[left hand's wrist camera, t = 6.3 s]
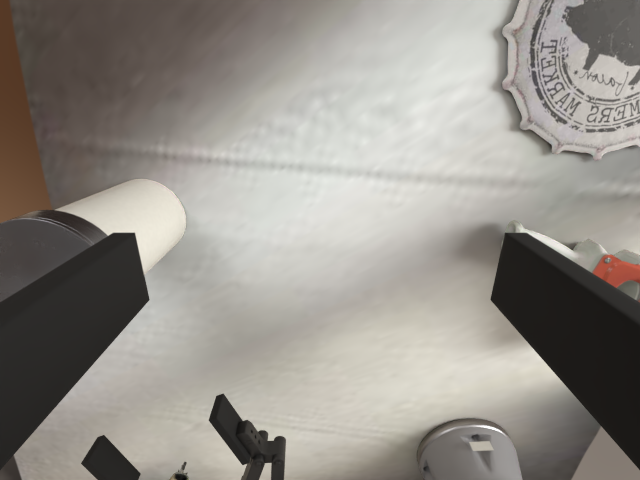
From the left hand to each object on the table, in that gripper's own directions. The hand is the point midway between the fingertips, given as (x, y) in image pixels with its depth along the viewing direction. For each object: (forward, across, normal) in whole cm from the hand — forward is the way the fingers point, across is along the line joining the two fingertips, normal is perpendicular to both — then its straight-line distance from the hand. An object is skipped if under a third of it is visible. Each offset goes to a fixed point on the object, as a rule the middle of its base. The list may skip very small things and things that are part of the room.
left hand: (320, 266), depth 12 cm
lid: (+12, -21, -7) cm, 25 cm away
